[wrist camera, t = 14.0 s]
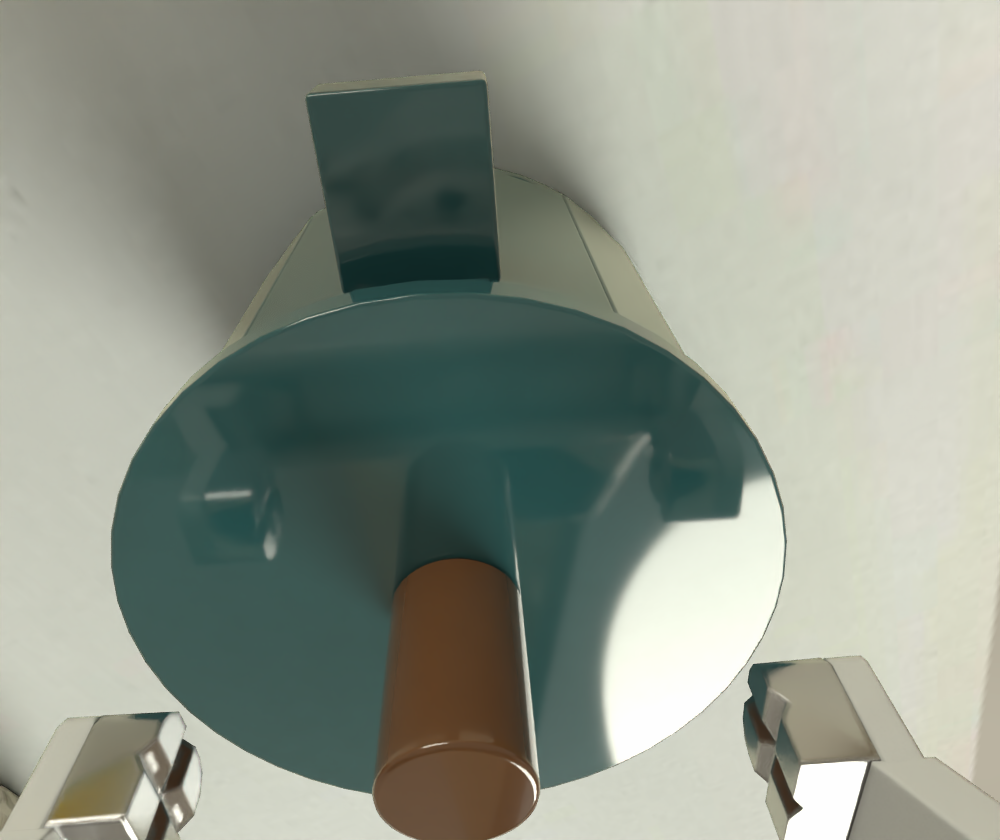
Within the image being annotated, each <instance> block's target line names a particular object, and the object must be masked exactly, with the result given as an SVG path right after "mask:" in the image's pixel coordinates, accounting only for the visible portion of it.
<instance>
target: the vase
mask: <svg viewBox="0 0 1000 840" xmlns="http://www.w3.org/2000/svg"><path fill="white" fill-rule="evenodd" d="M18 799H19V797H18V796H17V795H16V794H14V793H13V792H11V791H10V790H8V789H7V788H5V787H3V786H2V785H0V831H1V830H2V828H3V827H4V825H5V823H6V821H7V819H8V817H9V815H10V814H11V812H12V810H13V808H14V806H15V804H16V802H17V801H18Z"/></svg>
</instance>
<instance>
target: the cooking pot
mask: <svg viewBox="0 0 1000 840" xmlns="http://www.w3.org/2000/svg"><path fill="white" fill-rule="evenodd" d="M305 102H306V107H307V113H308V118H309V123H310V128H311V134H312V139H313V144H314V149H315V155H316V160H317V165H318V170H319V176H320V181H321V186H322V191H323V197H324V202H325V208H324V209H322V210H320V211H318V212H316V213H315V215H314V216H312V217H311V218H310V219H309V220H308V222H307V223H306V224H305V226H304V227H303V228H302V230H301V231H300V232H299V234H298V235H297V236H296V237H295V238H294V239H293V241H292V242H291V244H290V245H289V247H288V248H287V250H286V251H285V253H284V254H283V255H282V257H281V258H280V259H279V261H278V262H277V264H276V265H275V266H274V268H273V269H272V270H271V272H270V273H269V274H268V276H267V277H266V279H265V280H264V282H263V284H262V285H261V287H260V289H259V290H258V292H257V294H256V295H255V297H254V299H253V300H252V302H251V304H250V305H249V307H248V309H247V310H246V312H245V313H244V315H243V317H242V318H241V320H240V322H239V323H238V325H237V327H236V328H235V330H234V332H233V333H232V335H231V337H230V338H229V340H228V341H227V343H226V345H225V346H224V348H223V350H224V349H225V348H226V347H228V346H229V345H231V344H233V343H234V342H236V341H238V340H239V339H241V338H243V337H244V336H246V335H247V334H249V333H251V332H252V331H254V330H256V329H257V328H259V327H261V326H262V325H264V324H265V323H267V322H270V321H272V320H274V319H276V318H279V317H281V316H283V315H286V314H288V313H290V312H293V311H295V310H297V309H300V308H302V307H304V306H307V305H309V304H311V303H314V302H317V301H321V300H324V299H328V298H331V297H335V296H339V295H342V294H346V293H349V292H353V291H356V290H360V289H363V288H370V287H377V286H384V285H390V284H397V283H404V282H410V281H424V280H468V279H470V280H479V281H489V282H499V283H509V284H519V285H525V286H529V287H533V288H538V289H542V290H546V291H551V292H555V293H559V294H564V295H568V296H572V297H575V298H578V299H580V300H583V301H586V302H588V303H591V304H594V305H596V306H599V307H602V308H604V309H607V310H610V311H612V312H615V313H618V314H620V315H622V316H624V317H625V318H627V319H629V320H631V321H633V322H635V323H637V324H639V325H640V326H642V327H644V328H646V329H648V330H650V331H652V332H653V333H655V334H657V335H659V336H661V337H662V338H663V339H665V340H666V341H667V342H669V343H670V344H671V345H673V346H674V347H676V348H677V349H678V350H680V351H681V352H682V353H684V352H683V350H682V349H681V347H680V345H679V344H678V342H677V340H676V338H675V337H674V335H673V333H672V331H671V330H670V328H669V326H668V324H667V323H666V321H665V319H664V318H663V316H662V314H661V312H660V311H659V309H658V307H657V305H656V304H655V302H654V300H653V299H652V297H651V295H650V293H649V292H648V290H647V288H646V286H645V285H644V283H643V281H642V280H641V278H640V276H639V274H638V273H637V271H636V269H635V267H634V266H633V264H632V262H631V261H630V259H629V257H628V255H627V254H626V252H625V251H624V249H623V247H622V246H621V245H620V244H619V243H618V242H616V241H615V240H614V239H613V238H612V237H611V236H610V235H609V234H608V233H607V232H606V231H605V230H604V229H603V228H602V227H601V226H600V225H599V223H598V222H597V221H596V220H595V219H594V218H593V217H592V216H591V215H590V214H588V213H587V212H586V211H584V210H583V209H582V208H581V207H579V206H578V205H577V204H575V203H574V202H573V201H572V200H570V199H569V198H568V197H567V196H565V195H564V194H561V193H560V192H557V191H555V190H553V189H552V188H550V187H548V186H546V185H544V184H542V183H539V182H537V181H534V180H532V179H529V178H527V177H525V176H522V175H519V174H516V173H512V172H508V171H504V170H500V169H496V168H494V164H493V150H492V136H491V123H490V109H489V95H488V84H487V80H486V76H485V74H484V72H482V71H468V72H456V73H444V74H432V75H420V76H408V77H396V78H384V79H372V80H360V81H348V82H336V83H324V84H319V85H317V86H316V87H315V88H313V89H312V90H311V91H310V92H309V93H308V94H307V95H306V98H305Z"/></svg>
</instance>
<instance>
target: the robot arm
mask: <svg viewBox="0 0 1000 840" xmlns="http://www.w3.org/2000/svg"><path fill="white" fill-rule="evenodd" d="M748 684H749V687H750V689H751V692H752V696H751V697H750V698H749V699H748V700H747V701H746V702H745V703H744V712H743V726H744V736H745V742H746V746H747V750H748V754H749V757H750V760H751V763H752V765H753V768H754V771H755V772H756V773H757V774H758V775H760V776H761V777H762V778H763V779H764V780H765V781H767V782H768V789H767V795H766V800H765V802H766V805H767V807H768V810H769V813H770V816H771V818H772V821H773V824H774V826H775V829H776V832H777V835H778V837H779V840H1000V803H999V802H998V801H997V800H995V799H994V798H992V797H991V796H989V795H988V794H987V793H985V792H984V791H982V790H981V789H980V788H978V787H977V786H975V785H974V784H973V783H971V782H970V781H968V780H967V779H965V778H964V777H963V776H961V775H960V774H958V773H957V772H956V771H954V770H953V769H951V768H950V767H949V766H947V765H946V764H944V763H943V762H941V761H940V760H939V759H937V758H936V757H928V758H924V756H923V755H922V753H921V751H920V750H919V748H918V746H917V745H916V743H915V741H914V739H913V738H912V736H911V734H910V733H909V731H908V729H907V728H906V726H905V724H904V722H903V721H902V719H901V717H900V716H899V714H898V712H897V711H896V709H895V707H894V705H893V704H892V702H891V700H890V699H889V697H888V695H887V694H886V692H885V690H884V688H883V687H882V685H881V683H880V682H879V680H878V678H877V677H876V675H875V673H874V671H873V670H872V668H871V666H870V665H869V663H868V661H867V660H865V659H864V658H863V657H862V656H846V657H834V658H824V659H822V658H813V659H802V660H792V661H781V662H770V663H760V664H753V666H752V667H751V668H750V670H749V676H748ZM185 729H186V725H185V723H184V721H183V719H182V717H181V715H180V713H179V712H160V713H141V714H122V715H103V716H90V717H75V718H67V719H66V720H65V721H64V722H63V723H62V724H61V725H60V726H58V727H57V729H56V730H55V732H54V734H53V736H52V738H51V739H50V741H49V743H48V745H47V747H46V749H45V751H44V752H43V754H42V756H41V758H40V760H39V762H38V764H37V765H36V767H35V769H34V771H33V773H32V775H31V776H30V778H29V780H28V782H27V784H26V786H25V788H24V789H23V791H22V793H21V795H20V797H19V799H18V801H17V802H16V804H15V806H14V808H13V810H12V812H11V814H10V815H9V817H8V819H7V821H6V823H5V825H4V827H3V828H2V830H1V831H0V840H181V839H180V836H179V834H178V832H179V831H180V830H181V829H182V828H183V827H184V826H185V825H186V824H187V823H188V822H189V820H190V819H191V818H192V817H193V816H194V814H195V811H196V808H197V804H198V801H199V798H200V792H201V782H202V768H201V761H200V757H199V754H198V752H197V749H196V747H195V746H193V745H192V744H190V743H189V742H187V741H185V740H184V739H182V738H183V735H184V732H185Z"/></svg>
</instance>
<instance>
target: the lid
mask: <svg viewBox="0 0 1000 840" xmlns="http://www.w3.org/2000/svg"><path fill="white" fill-rule="evenodd" d="M786 544H787V538H786V528H785V517H784V507H783V503H782V500H781V496H780V493H779V489H778V486H777V482H776V478H775V475H774V472H773V470H772V468H771V466H770V464H769V462H768V460H767V458H766V455H765V453H764V451H763V449H762V447H761V445H760V443H759V441H758V439H757V437H756V436H755V434H754V433H753V431H752V429H751V428H750V426H749V425H748V423H747V422H746V420H745V419H744V418H743V416H742V415H741V413H740V412H739V411H738V409H737V408H736V406H735V405H734V404H733V402H732V401H731V399H730V398H729V397H728V395H727V394H726V392H725V391H724V390H723V389H722V388H721V387H720V386H719V385H718V384H717V383H716V382H715V381H714V380H713V379H712V378H711V377H710V376H709V375H708V374H707V373H706V372H705V371H704V370H703V369H702V368H701V367H700V366H699V365H698V364H697V363H696V362H694V361H693V360H692V359H690V358H689V357H688V356H686V355H685V354H684V353H682V352H681V351H680V350H678V349H677V348H676V347H674V346H673V345H671V344H670V343H669V342H667V341H666V340H665V339H663V338H662V337H661V336H659V335H657V334H655V333H653V332H652V331H650V330H648V329H646V328H644V327H642V326H640V325H639V324H637V323H635V322H633V321H631V320H629V319H627V318H625V317H624V316H622V315H620V314H618V313H615V312H612V311H610V310H607V309H604V308H602V307H599V306H596V305H594V304H591V303H588V302H586V301H583V300H580V299H578V298H575V297H572V296H568V295H564V294H559V293H555V292H551V291H546V290H542V289H538V288H533V287H529V286H525V285H519V284H509V283H499V282H489V281H479V280H470V279H468V280H424V281H410V282H404V283H397V284H390V285H384V286H377V287H370V288H363V289H360V290H356V291H353V292H349V293H346V294H342V295H339V296H335V297H331V298H328V299H324V300H321V301H317V302H314V303H311V304H309V305H307V306H304V307H302V308H300V309H297V310H295V311H293V312H290V313H288V314H286V315H283V316H281V317H279V318H276V319H274V320H272V321H270V322H267V323H265V324H264V325H262V326H261V327H259V328H257V329H256V330H254V331H252V332H251V333H249V334H247V335H246V336H244V337H243V338H241V339H239V340H238V341H236V342H234V343H233V344H231V345H229V346H228V347H226V348H225V349H224V350H222V351H221V352H220V353H219V354H218V355H217V356H215V357H214V358H213V359H212V360H211V361H209V362H208V363H207V364H206V365H205V366H203V367H202V368H201V369H200V370H199V371H197V372H196V373H195V374H194V375H193V376H191V377H190V379H189V380H188V381H187V382H186V383H185V384H184V385H183V387H182V388H181V389H180V390H179V391H178V392H177V394H176V395H175V396H174V397H173V398H172V399H171V400H170V402H169V403H168V404H167V405H166V406H165V407H164V408H163V410H162V411H161V413H160V414H159V416H158V417H157V419H156V421H155V422H154V424H153V425H152V427H151V428H150V430H149V432H148V433H147V435H146V437H145V438H144V440H143V441H142V443H141V445H140V446H139V448H138V450H137V451H136V453H135V455H134V456H133V458H132V460H131V462H130V465H129V467H128V470H127V473H126V475H125V478H124V480H123V483H122V485H121V488H120V491H119V493H118V497H117V502H116V508H115V513H114V518H113V524H112V529H111V568H112V574H113V579H114V585H115V590H116V596H117V601H118V604H119V607H120V609H121V612H122V615H123V618H124V620H125V623H126V626H127V628H128V631H129V633H130V635H131V637H132V639H133V641H134V642H135V644H136V646H137V648H138V650H139V651H140V653H141V655H142V657H143V658H144V660H145V662H146V663H147V665H148V666H149V667H150V668H151V670H152V671H153V672H154V674H155V675H156V676H157V678H158V679H159V680H160V681H161V683H162V684H163V685H164V687H165V688H166V689H167V690H168V691H169V692H170V693H171V694H172V695H173V696H174V697H175V698H176V699H177V700H178V701H179V702H180V703H181V704H182V705H183V706H184V707H185V708H186V709H187V710H188V711H189V712H190V713H191V714H193V715H194V716H195V717H196V718H198V719H199V720H200V721H202V722H203V723H204V724H205V725H207V726H208V727H209V728H210V729H212V730H213V731H214V732H216V733H217V734H218V735H220V736H222V737H223V738H225V739H227V740H228V741H230V742H231V743H233V744H235V745H236V746H238V747H239V748H241V749H243V750H244V751H246V752H248V753H250V754H252V755H254V756H256V757H258V758H260V759H262V760H264V761H266V762H268V763H270V764H272V765H275V766H277V767H279V768H282V769H284V770H287V771H290V772H292V773H295V774H298V775H300V776H303V777H305V778H308V779H311V780H315V781H318V782H322V783H325V784H329V785H332V786H336V787H340V788H343V789H348V790H353V791H358V792H364V793H369V794H372V796H373V801H374V804H375V807H376V810H377V812H378V814H379V815H380V817H381V818H382V819H383V820H384V821H385V823H386V824H388V825H389V826H390V827H391V828H393V829H394V830H396V831H397V832H399V833H401V834H403V835H405V836H408V837H410V838H413V839H416V840H490V839H493V838H496V837H499V836H501V835H504V834H506V833H508V832H510V831H512V830H513V829H515V828H516V827H518V826H519V825H520V824H522V823H523V822H524V821H525V820H526V819H527V818H528V817H529V816H530V815H531V813H532V812H533V811H534V809H535V807H536V804H537V802H538V799H539V795H540V790H541V789H545V788H550V787H554V786H558V785H561V784H564V783H568V782H571V781H575V780H578V779H581V778H585V777H588V776H590V775H593V774H595V773H598V772H600V771H603V770H606V769H608V768H611V767H613V766H616V765H618V764H620V763H622V762H624V761H626V760H628V759H630V758H632V757H634V756H636V755H638V754H640V753H642V752H644V751H646V750H648V749H650V748H652V747H653V746H655V745H656V744H658V743H660V742H661V741H663V740H664V739H666V738H668V737H669V736H671V735H673V734H674V733H676V732H677V731H679V730H680V729H681V728H682V727H684V726H685V725H686V724H688V723H689V722H690V721H691V720H693V719H694V718H695V717H697V716H698V715H699V714H700V713H702V712H703V711H704V710H705V709H706V708H707V707H708V706H709V705H710V704H711V703H712V702H713V701H714V700H715V699H716V698H718V697H719V696H720V695H721V694H722V693H723V692H724V691H725V690H726V689H727V688H728V686H729V685H730V684H731V683H732V681H733V680H734V679H735V678H736V676H737V675H738V674H739V673H740V671H741V670H742V669H743V668H744V667H745V665H746V664H747V663H748V661H749V659H750V658H751V656H752V654H753V653H754V651H755V649H756V648H757V646H758V645H759V643H760V641H761V640H762V638H763V636H764V634H765V632H766V629H767V627H768V625H769V622H770V620H771V618H772V615H773V613H774V611H775V608H776V605H777V601H778V597H779V594H780V590H781V586H782V582H783V578H784V570H785V557H786Z"/></svg>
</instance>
